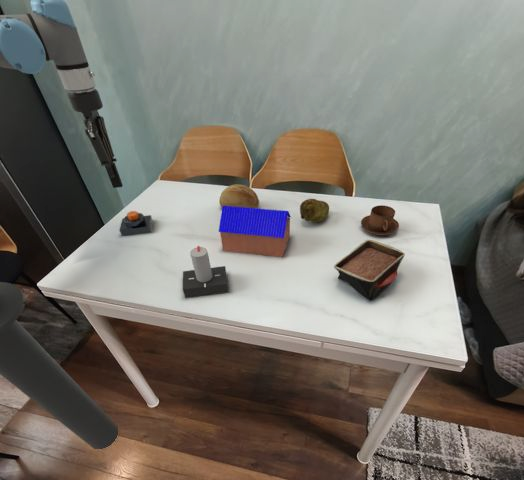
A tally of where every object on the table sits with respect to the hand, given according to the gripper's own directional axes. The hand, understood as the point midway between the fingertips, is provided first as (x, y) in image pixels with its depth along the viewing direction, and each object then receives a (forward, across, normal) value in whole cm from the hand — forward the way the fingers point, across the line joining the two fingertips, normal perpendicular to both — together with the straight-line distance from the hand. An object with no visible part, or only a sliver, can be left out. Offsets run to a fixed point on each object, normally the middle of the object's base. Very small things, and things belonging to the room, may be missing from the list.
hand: (118, 186), depth 96 cm
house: (+14, -18, -41) cm, 47 cm away
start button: (+11, 0, -1) cm, 11 cm away
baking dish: (+14, -44, -68) cm, 82 cm away
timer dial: (+11, -37, -24) cm, 45 cm away
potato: (+14, -8, -63) cm, 65 cm away
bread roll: (+14, +6, -38) cm, 41 cm away
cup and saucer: (+14, -18, -82) cm, 85 cm away
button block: (+15, 0, -1) cm, 15 cm away
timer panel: (+14, -36, -24) cm, 46 cm away
